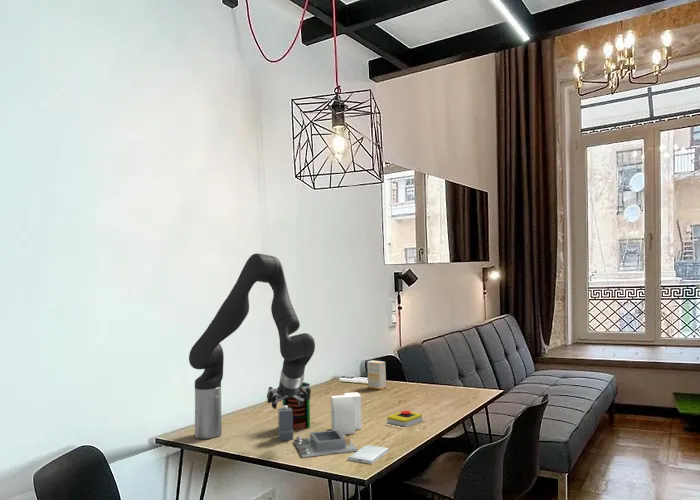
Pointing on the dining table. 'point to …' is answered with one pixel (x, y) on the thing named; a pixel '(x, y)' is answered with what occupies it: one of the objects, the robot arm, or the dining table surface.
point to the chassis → (324, 444)
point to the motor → (299, 411)
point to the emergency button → (404, 419)
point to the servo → (285, 423)
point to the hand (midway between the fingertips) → (287, 405)
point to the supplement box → (376, 374)
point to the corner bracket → (346, 413)
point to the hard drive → (368, 454)
